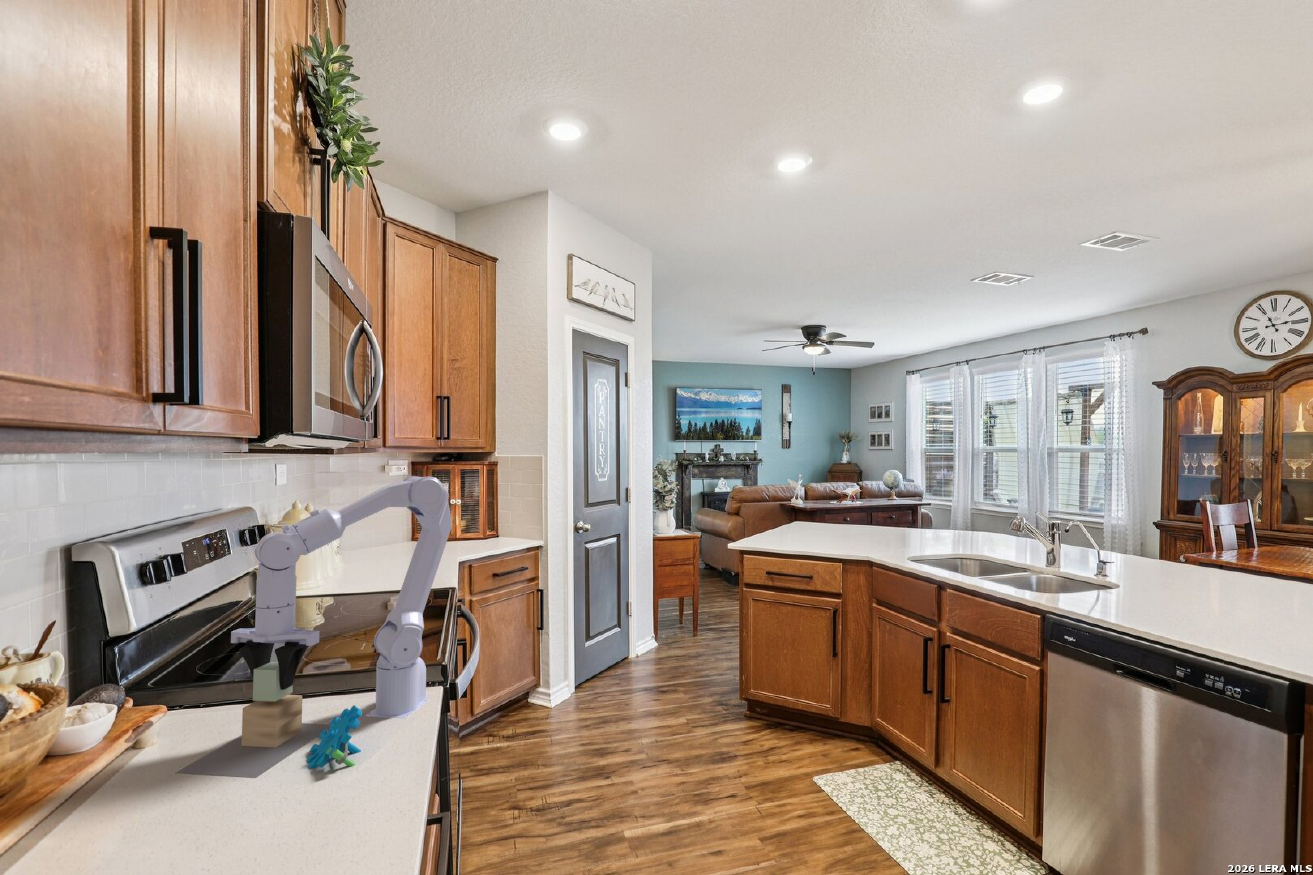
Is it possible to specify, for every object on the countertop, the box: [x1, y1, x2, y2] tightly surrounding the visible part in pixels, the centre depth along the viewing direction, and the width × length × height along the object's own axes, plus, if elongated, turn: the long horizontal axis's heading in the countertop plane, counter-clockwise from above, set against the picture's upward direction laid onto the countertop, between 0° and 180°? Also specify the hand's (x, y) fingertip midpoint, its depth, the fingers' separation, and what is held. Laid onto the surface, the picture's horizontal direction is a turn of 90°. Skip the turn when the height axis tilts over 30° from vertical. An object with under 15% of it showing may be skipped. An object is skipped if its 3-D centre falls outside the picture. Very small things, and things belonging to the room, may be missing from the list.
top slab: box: [241, 694, 303, 728], centre depth 101 cm, size 6×6×3 cm
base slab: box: [241, 713, 303, 747], centre depth 101 cm, size 6×6×3 cm
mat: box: [174, 722, 330, 779], centre depth 97 cm, size 18×13×1 cm
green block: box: [252, 661, 294, 702], centre depth 101 cm, size 4×4×5 cm
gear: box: [305, 704, 363, 770], centre depth 94 cm, size 11×6×10 cm
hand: (273, 686), depth 101 cm, fingers closed on green block, 4 cm apart
